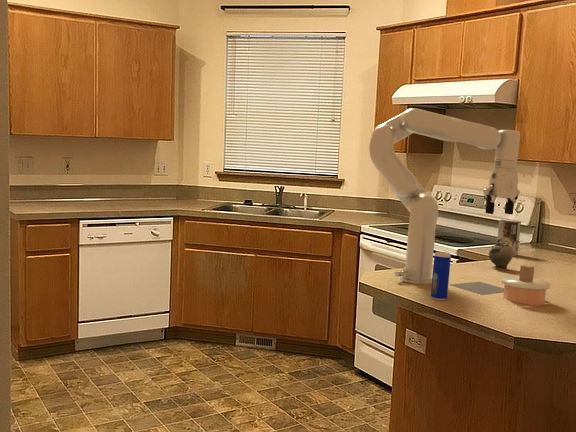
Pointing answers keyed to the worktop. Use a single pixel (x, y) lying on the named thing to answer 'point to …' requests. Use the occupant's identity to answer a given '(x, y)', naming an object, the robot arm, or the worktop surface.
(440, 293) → the beverage can
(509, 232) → the coffee box
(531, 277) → the lid
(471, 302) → the worktop surface
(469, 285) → the mat
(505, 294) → the bowl
